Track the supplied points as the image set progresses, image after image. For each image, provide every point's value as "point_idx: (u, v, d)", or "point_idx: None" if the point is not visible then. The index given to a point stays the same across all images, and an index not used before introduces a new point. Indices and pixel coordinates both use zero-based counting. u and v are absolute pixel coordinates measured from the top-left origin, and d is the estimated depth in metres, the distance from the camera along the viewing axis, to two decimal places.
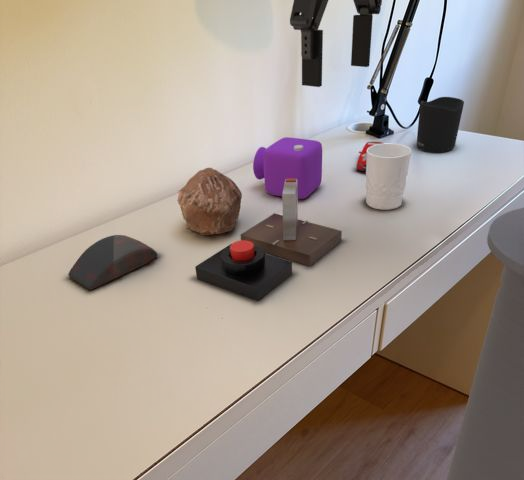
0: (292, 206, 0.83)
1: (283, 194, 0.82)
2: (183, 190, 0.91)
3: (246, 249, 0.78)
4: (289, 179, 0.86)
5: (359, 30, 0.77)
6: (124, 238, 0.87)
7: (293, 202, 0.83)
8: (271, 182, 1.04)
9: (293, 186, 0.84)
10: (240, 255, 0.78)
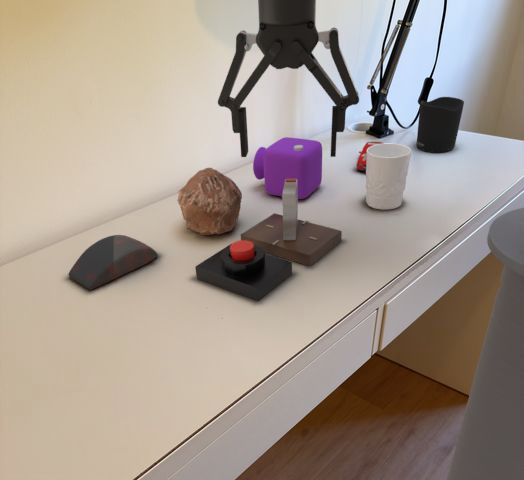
0: (292, 206, 0.83)
1: (283, 194, 0.82)
2: (183, 190, 0.91)
3: (246, 249, 0.78)
4: (289, 179, 0.86)
5: None
6: (124, 238, 0.87)
7: (293, 202, 0.83)
8: (271, 182, 1.04)
9: (293, 186, 0.84)
10: (240, 255, 0.78)
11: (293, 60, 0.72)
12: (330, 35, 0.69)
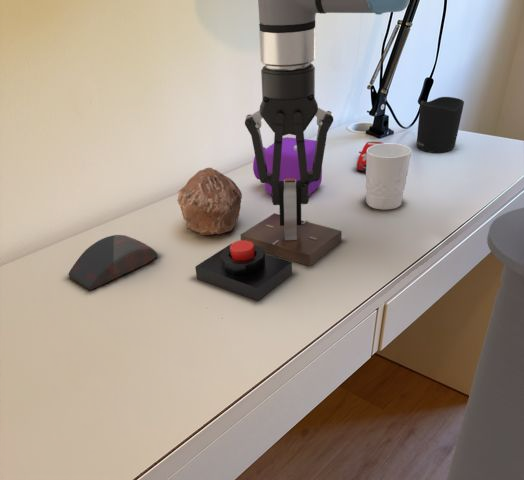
0: (293, 206, 0.83)
1: (284, 194, 0.82)
2: (183, 190, 0.91)
3: (246, 249, 0.78)
4: (289, 179, 0.86)
5: None
6: (124, 238, 0.87)
7: (294, 202, 0.83)
8: None
9: (293, 185, 0.84)
10: (240, 255, 0.78)
11: (295, 128, 0.77)
12: (327, 118, 0.76)
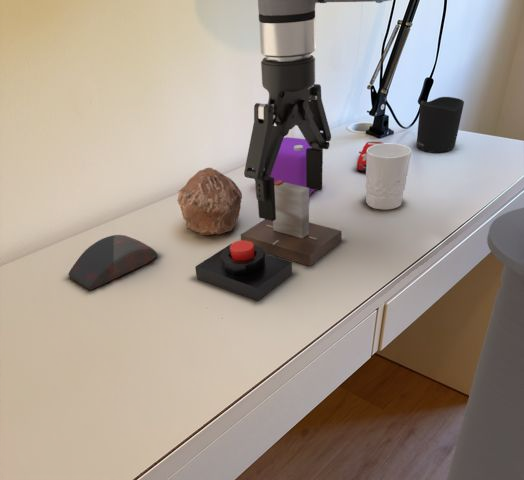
0: (307, 201, 0.84)
1: (302, 192, 0.82)
2: (183, 190, 0.91)
3: (246, 249, 0.78)
4: (278, 182, 0.85)
5: (311, 161, 0.87)
6: (124, 238, 0.87)
7: (308, 197, 0.84)
8: None
9: (291, 184, 0.84)
10: (240, 255, 0.78)
11: (299, 117, 0.78)
12: (317, 89, 0.79)
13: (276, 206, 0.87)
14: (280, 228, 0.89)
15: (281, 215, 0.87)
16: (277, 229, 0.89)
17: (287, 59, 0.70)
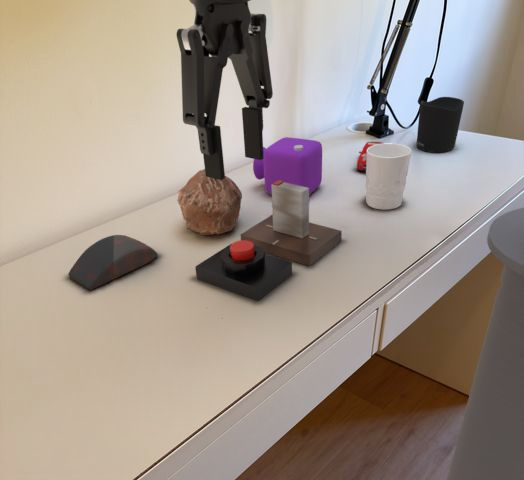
0: (307, 201, 0.84)
1: (302, 192, 0.82)
2: (183, 190, 0.91)
3: (246, 249, 0.78)
4: (278, 182, 0.85)
5: (249, 123, 0.71)
6: (124, 238, 0.87)
7: (308, 197, 0.84)
8: (271, 182, 1.04)
9: (291, 184, 0.84)
10: (240, 255, 0.78)
11: (237, 44, 0.63)
12: (261, 18, 0.64)
13: (276, 206, 0.87)
14: (280, 228, 0.89)
15: (281, 215, 0.87)
16: (277, 229, 0.89)
17: None
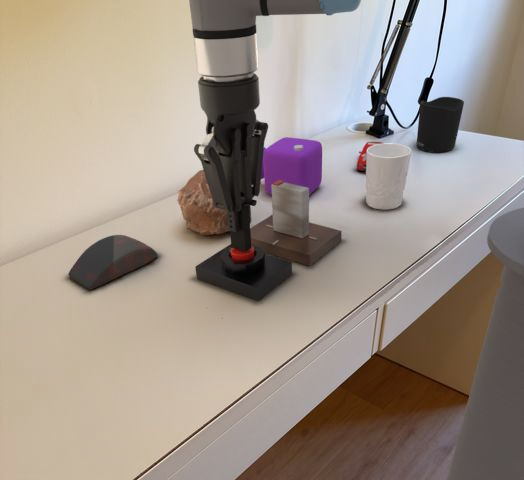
0: (307, 201, 0.84)
1: (302, 192, 0.82)
2: (183, 190, 0.91)
3: (246, 252, 0.78)
4: (278, 182, 0.85)
5: None
6: (124, 238, 0.87)
7: (308, 197, 0.84)
8: (271, 182, 1.04)
9: (291, 184, 0.84)
10: (240, 259, 0.78)
11: (244, 142, 0.70)
12: (264, 125, 0.72)
13: (276, 206, 0.87)
14: (280, 228, 0.89)
15: (281, 215, 0.87)
16: (277, 229, 0.89)
17: (225, 79, 0.62)
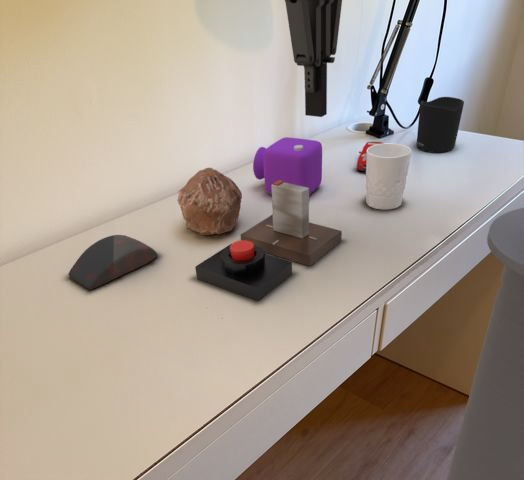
0: (307, 201, 0.84)
1: (302, 192, 0.82)
2: (183, 190, 0.91)
3: (246, 249, 0.78)
4: (278, 182, 0.85)
5: None
6: (124, 238, 0.87)
7: (308, 197, 0.84)
8: (271, 182, 1.04)
9: (291, 184, 0.84)
10: (240, 255, 0.78)
11: None
12: None
13: (276, 206, 0.87)
14: (280, 228, 0.89)
15: (281, 215, 0.87)
16: (277, 229, 0.89)
17: None
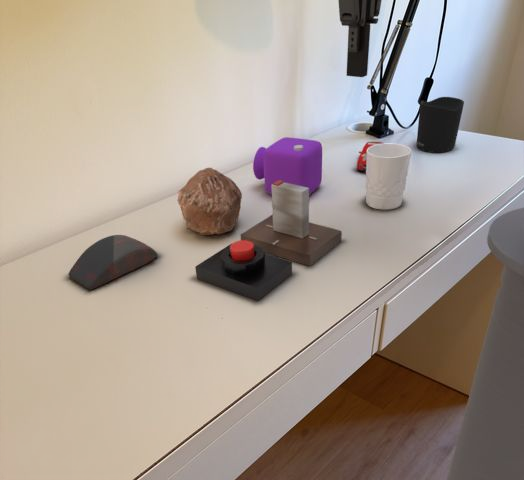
0: (307, 201, 0.84)
1: (302, 192, 0.82)
2: (183, 190, 0.91)
3: (246, 249, 0.78)
4: (278, 182, 0.85)
5: None
6: (124, 238, 0.87)
7: (308, 197, 0.84)
8: (271, 182, 1.04)
9: (291, 184, 0.84)
10: (240, 255, 0.78)
11: None
12: None
13: (276, 206, 0.87)
14: (280, 228, 0.89)
15: (281, 215, 0.87)
16: (277, 229, 0.89)
17: None
